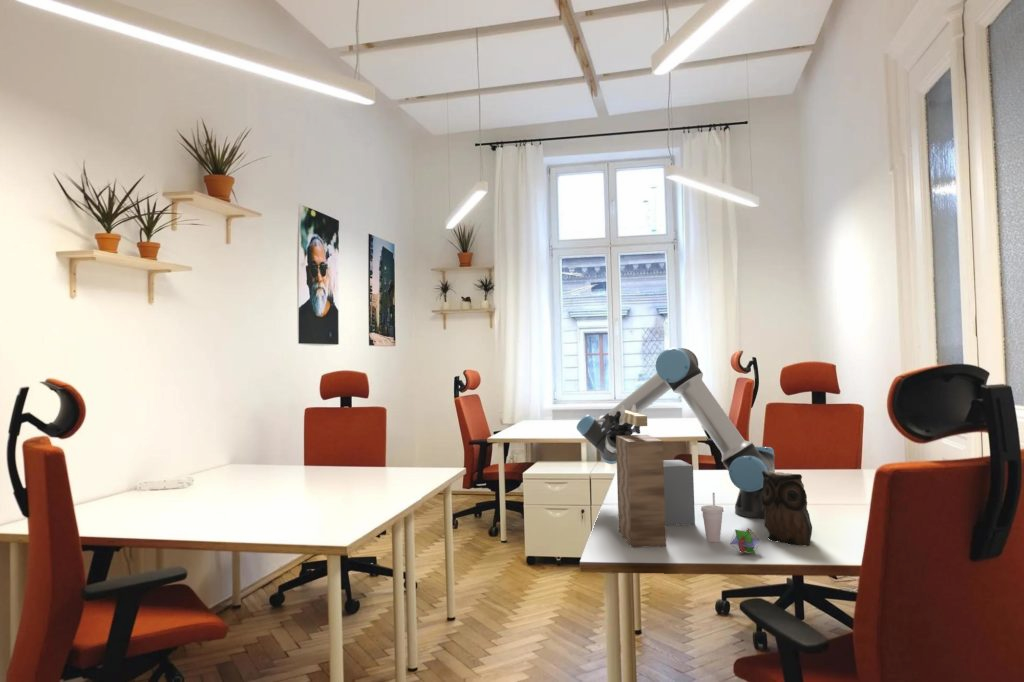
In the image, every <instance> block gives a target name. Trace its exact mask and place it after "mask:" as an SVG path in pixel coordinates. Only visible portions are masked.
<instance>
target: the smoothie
mask: <svg viewBox="0 0 1024 682" xmlns="http://www.w3.org/2000/svg"><path fill="white" fill-rule="evenodd" d="M715 497H716V496H715V492H712V505H710V504H707V505H702V506H700V507H701V508H700V511H701V512H702V519H703V525H704V532H705V536H706V537H705V538H706V541H707V542H709V543H719V541H720V542H721V536H722V535H721V533H722V532H721V531H722V523H723V522H722V521H723V512H724V507H723V506H720V505H716V499H715Z"/></svg>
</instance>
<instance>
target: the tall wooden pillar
mask: <svg viewBox="0 0 1024 682" xmlns="http://www.w3.org/2000/svg"><path fill="white" fill-rule="evenodd" d="M616 453H617V463H616V477H617V478H616V480H617V481H616V482H617V516H618V519H617V520H618V522H617V523H618V532H620V533H621V534H622V535H623V536H622V535H621V534H620V533H619V534H620V535H621V536H622V538H623V539H624V538H625V539H626V540H627V541H626V540H625V539H624V540H625V541H626V542H627V543H628V544H630V545H631V546H630V545H629V546H630V547H631V548H643V547H644V546H651V547H666V546H667V538H666V537H667V536H666V526H665V498H664V467H663V460H664V444H663V440H661V439H658V438H656V437H654V436H652V435H649V434H632V435H620V436H616ZM642 546H643V547H642Z"/></svg>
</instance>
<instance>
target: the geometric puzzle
mask: <svg viewBox="0 0 1024 682" xmlns="http://www.w3.org/2000/svg"><path fill="white" fill-rule="evenodd" d="M733 534H735V537H734V538H732V539H731V541H730V542H729V544H730V545H733V546H734V549H737V547H736V546H738V548H739V549H738V550H739V551H738V552H740V551H741V552H740V556H744V555H746V553H747V554H748V553H749V554H756V550H757V548H758V547H756V546H758V545H757V544H759V543H760V540H761V539H760V537H759V536H758V534H757V533H756V532H755V531H754V530H752V529H750V528H749V527H748V528H747V527H746V529H745V530H741V529H735V530H734V533H733ZM735 545H736V546H735ZM755 547H756V548H755ZM755 549H756V550H755Z"/></svg>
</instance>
